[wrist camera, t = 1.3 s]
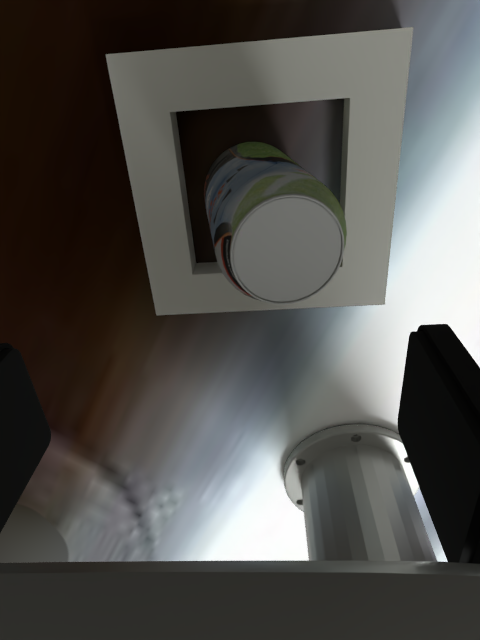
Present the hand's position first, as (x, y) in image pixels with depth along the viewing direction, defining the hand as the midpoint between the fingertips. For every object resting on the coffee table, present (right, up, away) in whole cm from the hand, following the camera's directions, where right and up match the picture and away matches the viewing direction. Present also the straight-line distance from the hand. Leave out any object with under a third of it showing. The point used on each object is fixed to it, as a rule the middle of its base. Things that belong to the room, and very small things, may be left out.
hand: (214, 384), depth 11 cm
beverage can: (+2, +10, +18) cm, 21 cm away
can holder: (+2, +10, +18) cm, 21 cm away
